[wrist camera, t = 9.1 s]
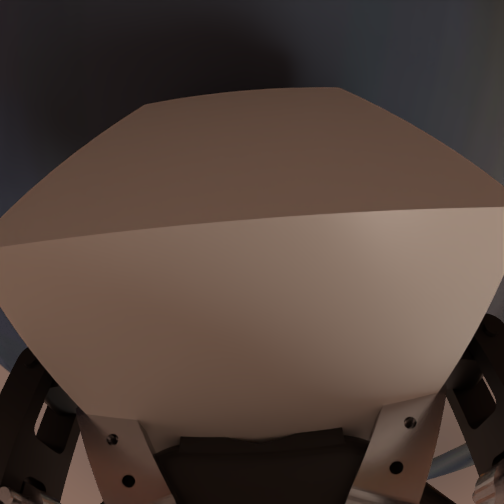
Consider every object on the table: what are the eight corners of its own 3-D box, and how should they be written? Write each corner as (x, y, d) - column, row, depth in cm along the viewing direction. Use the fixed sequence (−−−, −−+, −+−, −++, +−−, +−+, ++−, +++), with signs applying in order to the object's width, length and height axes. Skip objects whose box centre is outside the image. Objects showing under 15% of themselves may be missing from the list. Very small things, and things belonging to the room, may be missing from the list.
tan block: (339, 87, 10) (528, 206, 3) (327, 314, 16) (363, 481, 9) (145, 104, 10) (-31, 252, 3) (196, 324, 16) (179, 493, 9)
